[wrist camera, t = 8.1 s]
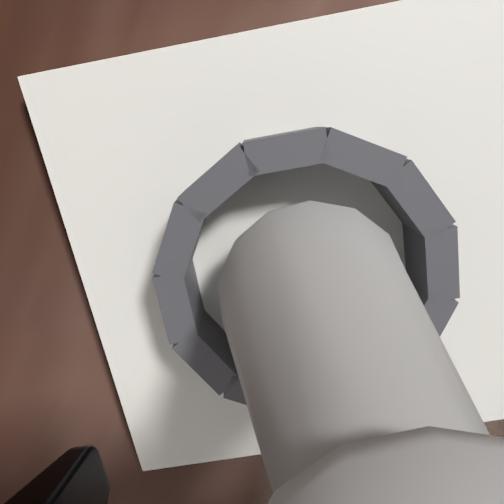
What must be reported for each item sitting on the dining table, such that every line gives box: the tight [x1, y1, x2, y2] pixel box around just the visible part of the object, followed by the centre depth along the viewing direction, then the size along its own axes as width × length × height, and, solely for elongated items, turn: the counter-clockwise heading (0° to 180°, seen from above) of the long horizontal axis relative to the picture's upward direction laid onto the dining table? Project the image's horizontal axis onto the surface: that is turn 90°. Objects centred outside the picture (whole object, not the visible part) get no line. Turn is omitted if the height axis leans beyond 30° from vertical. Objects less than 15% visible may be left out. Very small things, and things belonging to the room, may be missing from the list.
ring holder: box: [18, 0, 504, 471], centre depth 15 cm, size 16×16×3 cm
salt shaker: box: [218, 200, 504, 504], centre depth 9 cm, size 6×6×13 cm
